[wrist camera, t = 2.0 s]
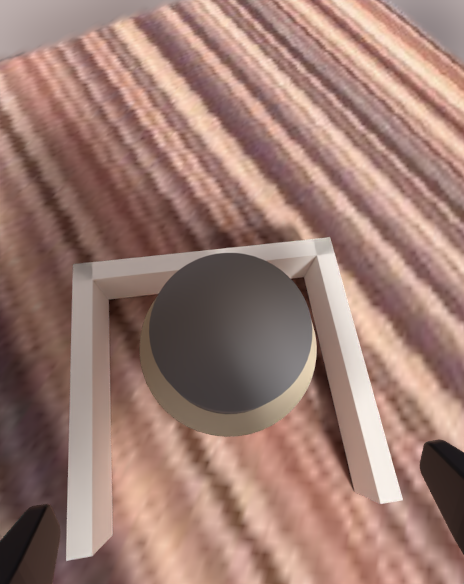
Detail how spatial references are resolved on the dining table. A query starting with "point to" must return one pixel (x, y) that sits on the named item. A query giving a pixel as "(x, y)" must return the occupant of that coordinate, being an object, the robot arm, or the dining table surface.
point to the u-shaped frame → (150, 280)
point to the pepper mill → (228, 345)
